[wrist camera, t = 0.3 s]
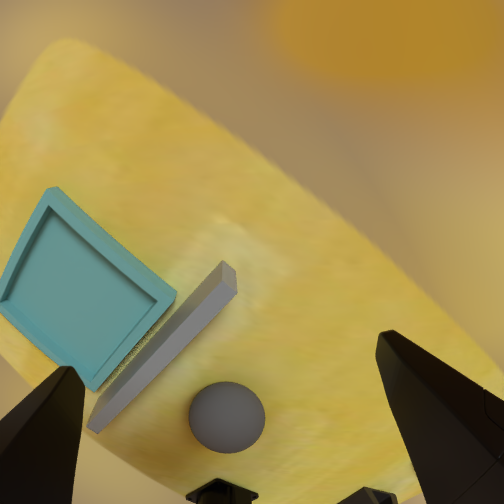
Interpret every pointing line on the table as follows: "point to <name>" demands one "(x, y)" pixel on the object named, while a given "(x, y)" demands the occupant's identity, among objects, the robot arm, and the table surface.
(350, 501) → the phone stand
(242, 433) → the ball
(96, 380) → the dish
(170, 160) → the table surface
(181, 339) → the low wall
